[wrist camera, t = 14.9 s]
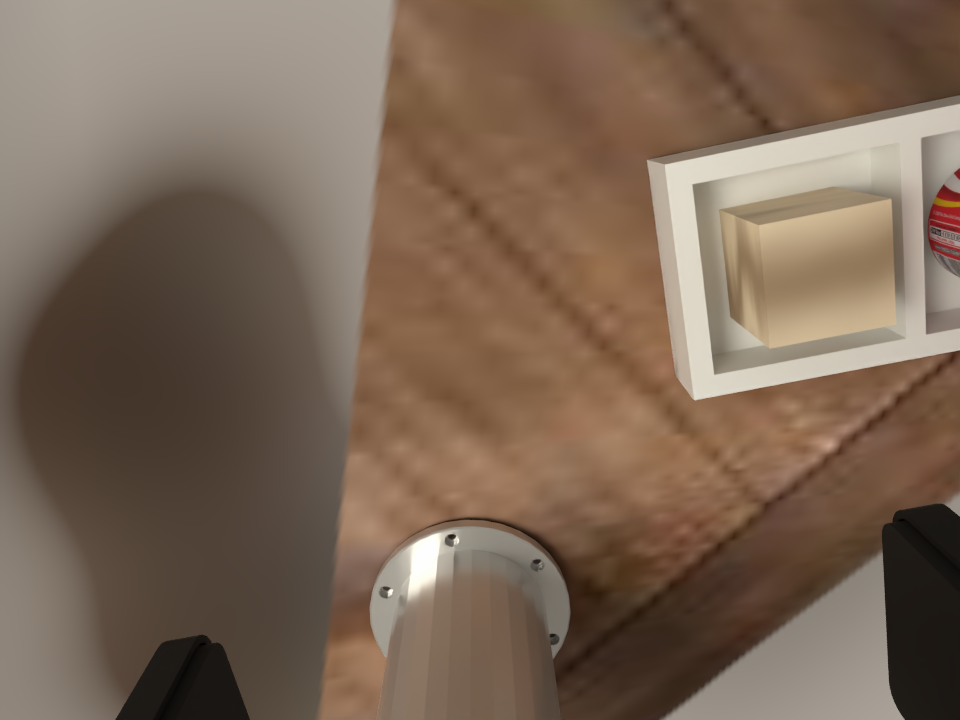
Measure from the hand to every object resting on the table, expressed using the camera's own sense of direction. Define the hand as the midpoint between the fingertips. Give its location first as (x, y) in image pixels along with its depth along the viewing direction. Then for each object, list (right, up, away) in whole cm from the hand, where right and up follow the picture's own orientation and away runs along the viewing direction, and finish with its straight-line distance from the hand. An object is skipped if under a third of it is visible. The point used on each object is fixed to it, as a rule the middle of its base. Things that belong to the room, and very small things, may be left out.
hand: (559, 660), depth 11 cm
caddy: (+21, +11, +31) cm, 39 cm away
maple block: (+15, +10, +31) cm, 36 cm away
